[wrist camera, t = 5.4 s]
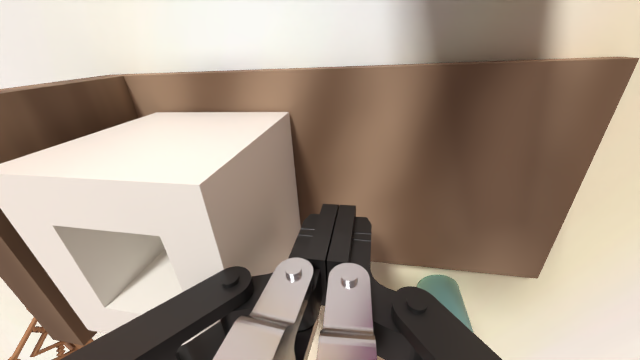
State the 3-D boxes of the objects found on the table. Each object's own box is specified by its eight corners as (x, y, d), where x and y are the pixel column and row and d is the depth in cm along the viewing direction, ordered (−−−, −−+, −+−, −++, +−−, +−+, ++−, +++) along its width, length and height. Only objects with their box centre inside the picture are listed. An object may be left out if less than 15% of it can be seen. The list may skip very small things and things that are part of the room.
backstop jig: (619, 56, 11) (1174, 96, 3) (529, 265, 17) (661, 464, 9) (109, 74, 16) (-142, 107, 8) (170, 231, 22) (52, 339, 14)
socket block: (288, 111, 14) (199, 184, 7) (301, 233, 18) (250, 361, 11) (156, 112, 15) (-26, 172, 8) (193, 223, 19) (87, 329, 12)
